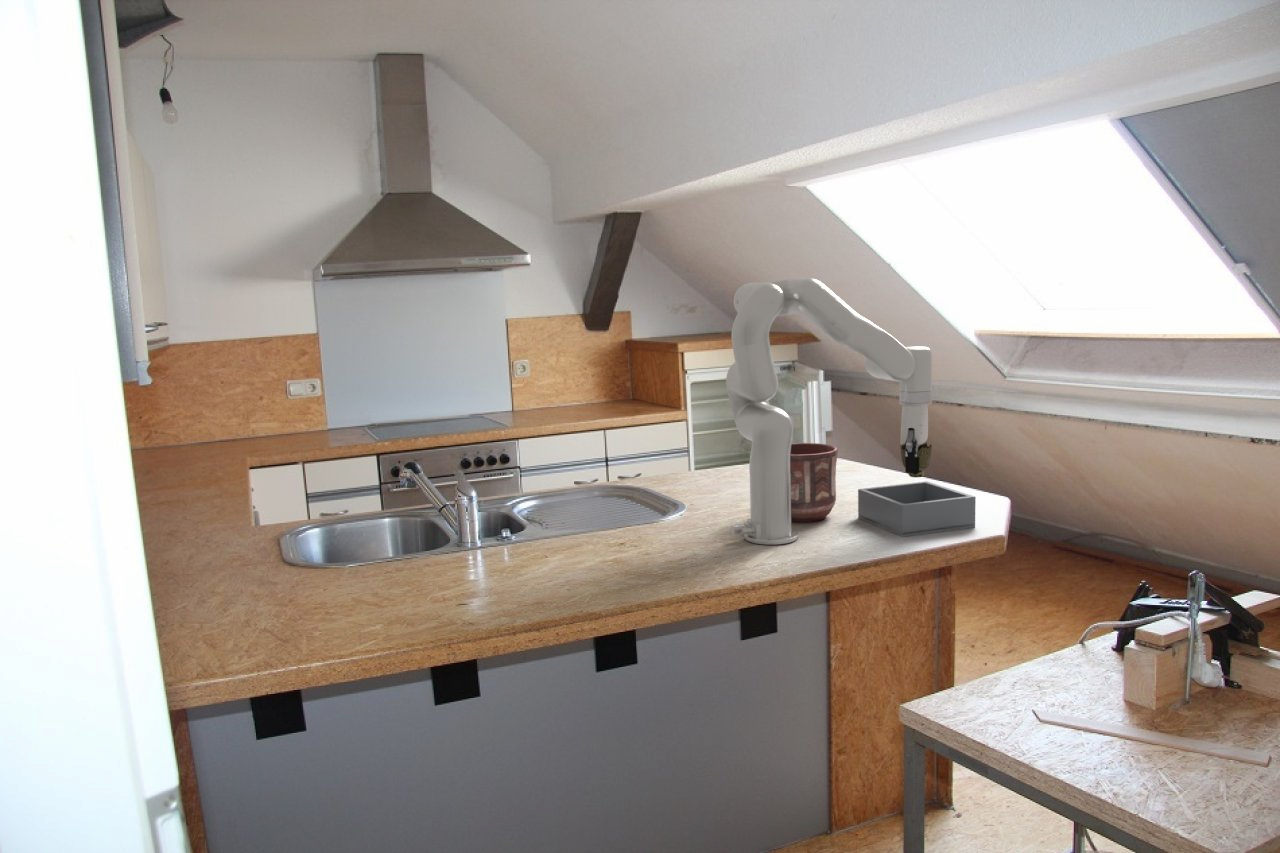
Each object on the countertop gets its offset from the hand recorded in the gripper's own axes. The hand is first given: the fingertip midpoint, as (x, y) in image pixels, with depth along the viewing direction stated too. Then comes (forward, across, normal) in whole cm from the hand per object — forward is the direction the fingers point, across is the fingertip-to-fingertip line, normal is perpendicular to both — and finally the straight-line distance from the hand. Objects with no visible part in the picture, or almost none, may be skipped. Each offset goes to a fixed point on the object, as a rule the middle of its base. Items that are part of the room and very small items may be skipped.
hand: (915, 469), depth 236 cm
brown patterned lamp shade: (+2, 0, 0) cm, 2 cm away
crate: (+13, 0, 0) cm, 13 cm away
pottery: (+13, +4, -28) cm, 31 cm away
